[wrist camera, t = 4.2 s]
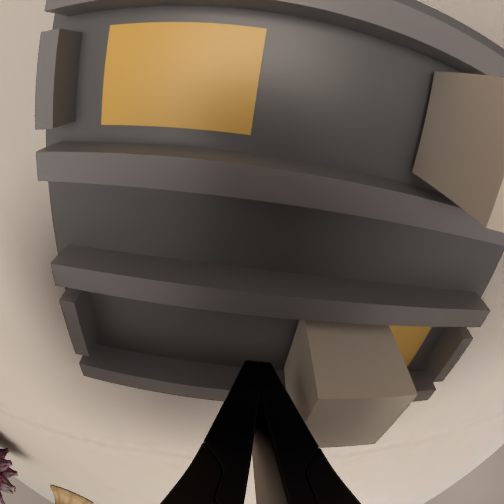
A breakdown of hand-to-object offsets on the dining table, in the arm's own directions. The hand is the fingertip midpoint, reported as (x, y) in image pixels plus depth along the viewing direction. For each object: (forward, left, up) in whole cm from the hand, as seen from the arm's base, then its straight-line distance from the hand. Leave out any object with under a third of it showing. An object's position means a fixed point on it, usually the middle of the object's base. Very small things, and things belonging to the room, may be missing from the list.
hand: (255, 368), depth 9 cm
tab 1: (-3, 0, -1) cm, 3 cm away
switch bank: (-1, -4, -3) cm, 5 cm away
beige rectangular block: (-5, -8, -1) cm, 9 cm away
